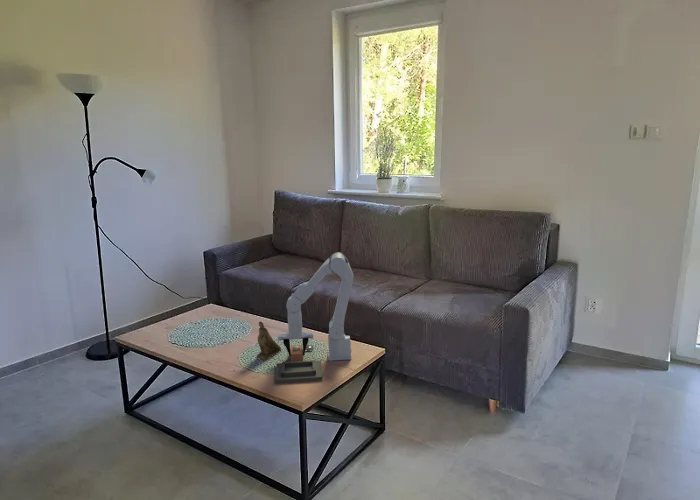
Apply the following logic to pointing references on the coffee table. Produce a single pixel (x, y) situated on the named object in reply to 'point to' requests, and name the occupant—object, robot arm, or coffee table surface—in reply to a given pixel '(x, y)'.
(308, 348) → the domed chrome disc
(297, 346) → the orange knobbed block
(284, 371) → the stand
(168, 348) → the coffee table surface
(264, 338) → the brown carved statuette
